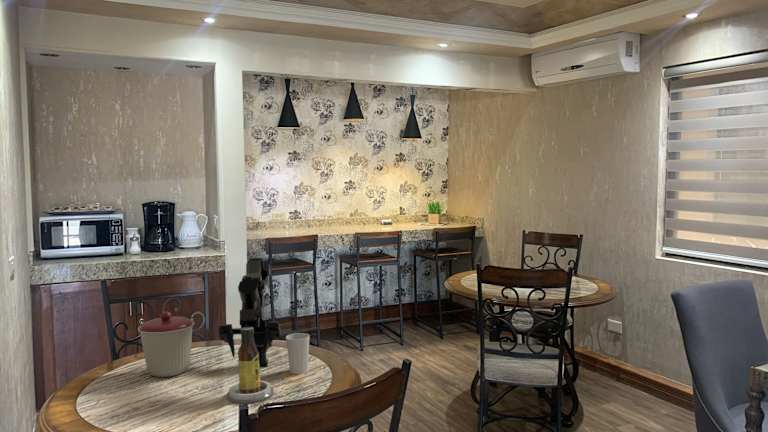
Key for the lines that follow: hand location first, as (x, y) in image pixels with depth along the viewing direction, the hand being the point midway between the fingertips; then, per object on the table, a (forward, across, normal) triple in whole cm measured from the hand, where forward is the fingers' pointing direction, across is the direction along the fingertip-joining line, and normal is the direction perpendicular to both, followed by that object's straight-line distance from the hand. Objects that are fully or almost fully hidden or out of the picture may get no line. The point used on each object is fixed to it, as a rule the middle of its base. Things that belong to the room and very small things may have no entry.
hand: (248, 355), depth 182 cm
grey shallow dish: (+9, 0, +8) cm, 12 cm away
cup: (-4, +14, +21) cm, 26 cm away
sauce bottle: (+8, 0, +8) cm, 11 cm away
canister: (-9, -30, +27) cm, 41 cm away
